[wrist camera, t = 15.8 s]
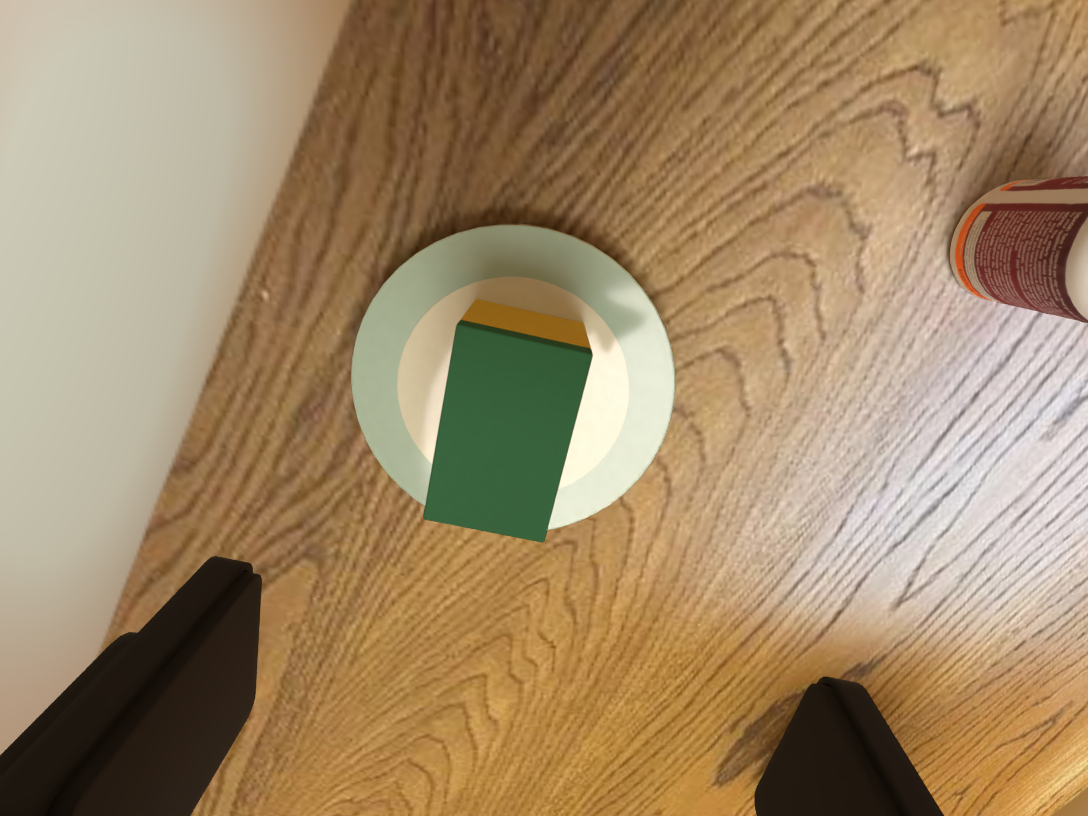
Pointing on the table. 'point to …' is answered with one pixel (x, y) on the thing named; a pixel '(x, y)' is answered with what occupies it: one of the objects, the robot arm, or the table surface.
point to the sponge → (507, 419)
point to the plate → (531, 284)
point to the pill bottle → (1027, 246)
